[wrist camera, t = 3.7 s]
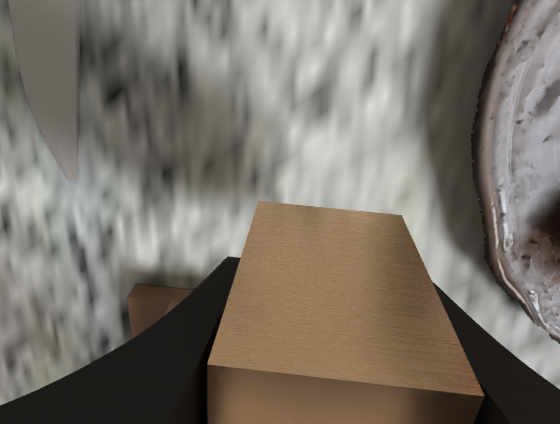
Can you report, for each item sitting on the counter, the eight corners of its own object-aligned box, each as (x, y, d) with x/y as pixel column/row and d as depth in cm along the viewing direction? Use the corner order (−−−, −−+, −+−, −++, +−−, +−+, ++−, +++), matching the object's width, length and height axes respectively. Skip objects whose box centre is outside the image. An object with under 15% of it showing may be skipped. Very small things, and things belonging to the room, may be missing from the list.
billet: (401, 215, 11) (484, 396, 6) (376, 327, 13) (421, 548, 7) (258, 200, 11) (207, 364, 6) (252, 313, 13) (208, 521, 8)
